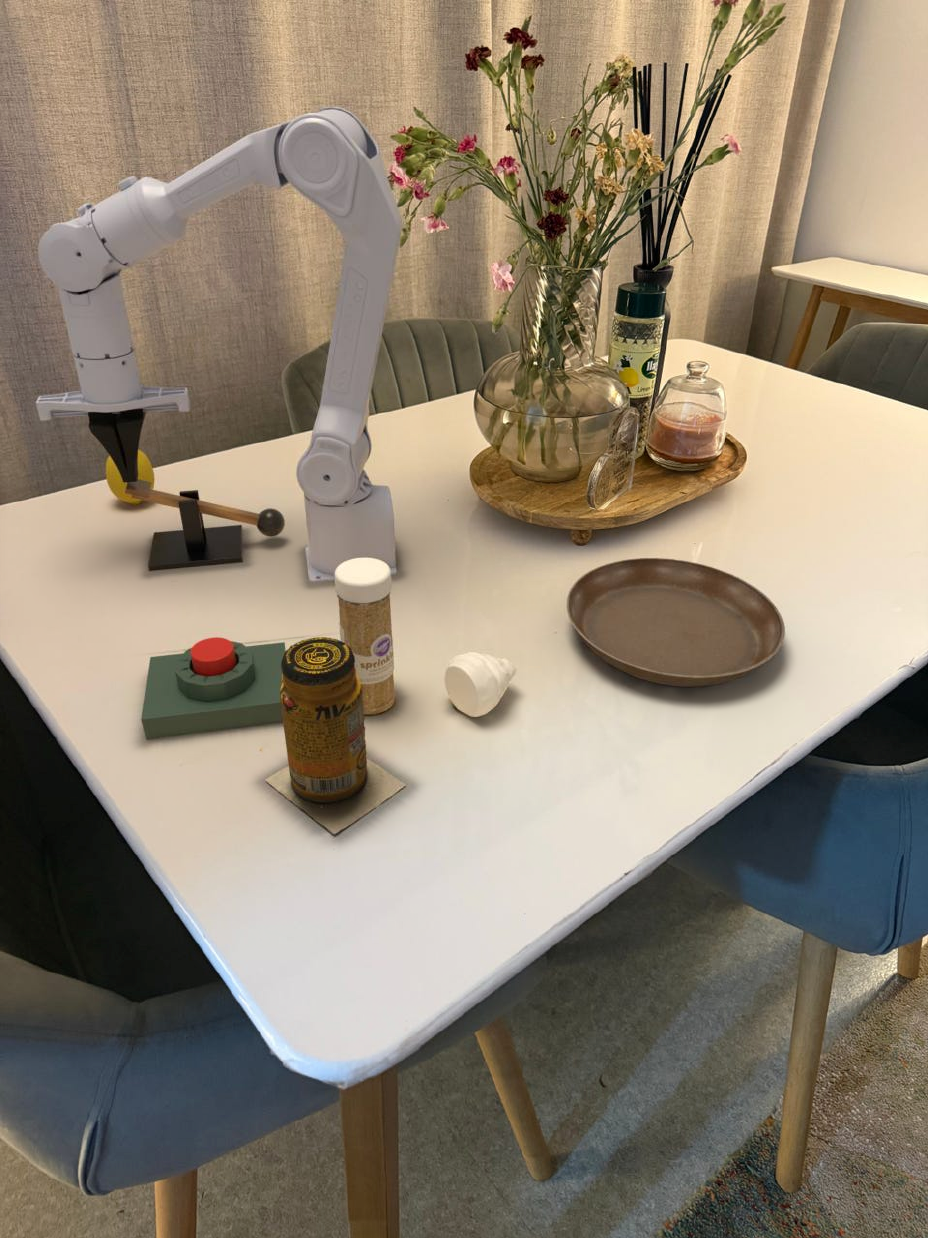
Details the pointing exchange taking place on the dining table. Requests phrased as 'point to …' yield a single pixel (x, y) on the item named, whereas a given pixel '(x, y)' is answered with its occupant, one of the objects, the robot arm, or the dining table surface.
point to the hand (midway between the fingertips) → (130, 478)
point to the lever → (211, 508)
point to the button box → (213, 693)
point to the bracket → (195, 541)
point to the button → (213, 656)
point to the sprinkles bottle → (368, 627)
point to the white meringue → (477, 682)
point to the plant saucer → (675, 621)
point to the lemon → (119, 486)
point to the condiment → (327, 737)
